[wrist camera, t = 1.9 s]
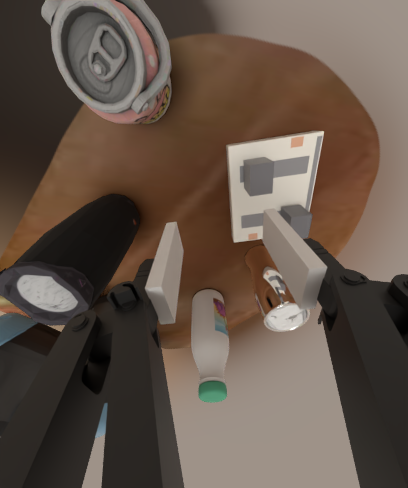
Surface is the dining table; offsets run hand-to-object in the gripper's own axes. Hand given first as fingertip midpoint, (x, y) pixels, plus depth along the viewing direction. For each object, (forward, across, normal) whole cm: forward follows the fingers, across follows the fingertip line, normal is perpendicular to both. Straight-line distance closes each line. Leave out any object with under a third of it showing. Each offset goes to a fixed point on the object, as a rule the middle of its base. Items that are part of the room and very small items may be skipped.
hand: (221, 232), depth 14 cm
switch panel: (+19, +10, -4) cm, 22 cm away
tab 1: (+16, +6, 0) cm, 17 cm away
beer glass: (+19, +8, -18) cm, 28 cm away
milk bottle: (+19, -4, -30) cm, 35 cm away
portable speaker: (+19, -17, -4) cm, 26 cm away
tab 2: (+16, +12, -8) cm, 22 cm away
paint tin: (+19, -7, +12) cm, 24 cm away
